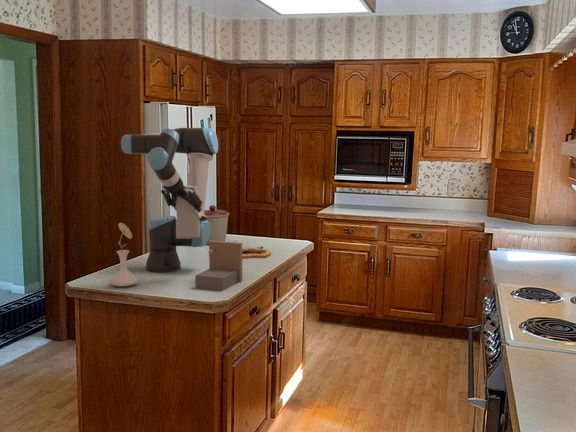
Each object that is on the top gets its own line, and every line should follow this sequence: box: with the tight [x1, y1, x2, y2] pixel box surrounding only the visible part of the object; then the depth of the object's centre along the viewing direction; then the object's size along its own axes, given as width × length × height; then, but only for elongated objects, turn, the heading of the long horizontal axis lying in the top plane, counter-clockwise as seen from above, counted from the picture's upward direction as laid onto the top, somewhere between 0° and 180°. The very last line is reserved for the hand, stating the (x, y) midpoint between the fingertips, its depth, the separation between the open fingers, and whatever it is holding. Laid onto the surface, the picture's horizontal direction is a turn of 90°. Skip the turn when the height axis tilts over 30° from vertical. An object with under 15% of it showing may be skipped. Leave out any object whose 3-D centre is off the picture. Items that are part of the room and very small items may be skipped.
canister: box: [204, 204, 230, 246], centre depth 325 cm, size 18×18×21 cm
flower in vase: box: [108, 222, 139, 287], centre depth 238 cm, size 13×11×25 cm
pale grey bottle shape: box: [175, 184, 200, 239], centre depth 248 cm, size 11×4×22 cm, turn 105°
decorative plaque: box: [232, 240, 272, 260], centre depth 298 cm, size 30×7×20 cm
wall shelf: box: [195, 241, 243, 291], centre depth 240 cm, size 14×16×16 cm
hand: (191, 215), depth 252 cm, fingers closed on pale grey bottle shape, 8 cm apart
